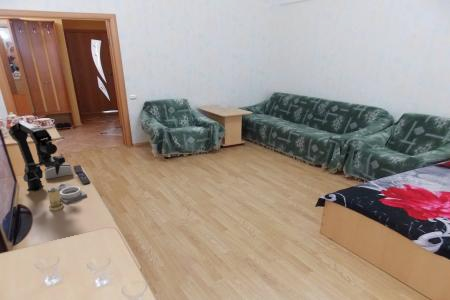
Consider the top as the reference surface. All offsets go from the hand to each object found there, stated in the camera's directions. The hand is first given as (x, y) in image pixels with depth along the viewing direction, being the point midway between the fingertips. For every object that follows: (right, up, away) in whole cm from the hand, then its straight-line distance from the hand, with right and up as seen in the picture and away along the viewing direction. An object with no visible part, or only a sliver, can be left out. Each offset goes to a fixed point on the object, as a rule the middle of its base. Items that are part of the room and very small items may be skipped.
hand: (48, 177), depth 161 cm
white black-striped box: (-13, -2, +32) cm, 35 cm away
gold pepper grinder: (+8, -16, -6) cm, 19 cm away
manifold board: (+6, -11, +8) cm, 15 cm away
